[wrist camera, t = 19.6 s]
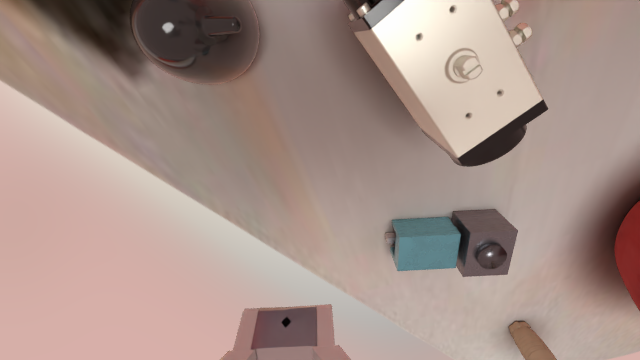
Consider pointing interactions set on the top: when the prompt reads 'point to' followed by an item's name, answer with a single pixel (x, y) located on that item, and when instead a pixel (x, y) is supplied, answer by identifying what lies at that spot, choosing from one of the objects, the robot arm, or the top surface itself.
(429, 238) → the teal storage bin
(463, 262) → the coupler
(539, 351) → the handle
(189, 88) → the top surface
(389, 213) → the top surface
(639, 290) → the mixing bowl
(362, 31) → the ball valve
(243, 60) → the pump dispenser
